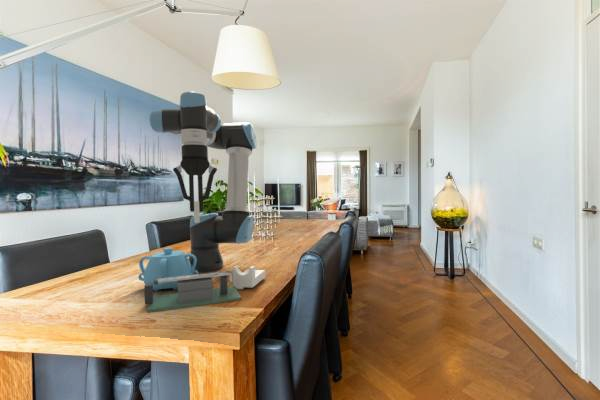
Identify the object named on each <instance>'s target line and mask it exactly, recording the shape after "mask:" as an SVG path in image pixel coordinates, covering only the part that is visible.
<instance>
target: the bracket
mask: <svg viewBox="0 0 600 400" xmlns="http://www.w3.org/2000/svg"><path fill="white" fill-rule="evenodd" d="M265 278H266V269H265V270H264V269H256V266H255V265H252V266H250V267H249V269H245V270H244V271H243V272H242V271H241V270H240V267H239V265H237V264H236V265H234V266H232V286H235V287H236V289H237V290H243V289H245V288H250V289H251V288H255V286H256V285H257V284H259V283H260V282H262V280H263V279H265Z"/></svg>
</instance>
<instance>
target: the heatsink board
mask: <svg viewBox="0 0 600 400" xmlns="http://www.w3.org/2000/svg"><path fill="white" fill-rule="evenodd" d="M218 277H219V287H217V288H214V280H213V277H207V278H198V279H189V280H180V281H178V289H177V292H176V293H174V292H173V293H168V294H161V295H154V291H153V290H154V289H153V283H144V305H148V306H147V313H154V312H160V311H169V310H177V309H182V308H183V309H184V308H191V307H197V306H199V307H200V306H206V305H213V304H219V303H226V302H233V301H241V300H242V296H241V294H240V292H239V291H238V289H236V287H235V286H233V285H232V286H228V275H225V276H218Z"/></svg>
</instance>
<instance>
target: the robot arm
mask: <svg viewBox="0 0 600 400" xmlns="http://www.w3.org/2000/svg"><path fill="white" fill-rule="evenodd" d="M179 102H180V103H179V108H172V109H171V108H170V109H163V108H161V109H156V110H155V109H154V110H153V111H151V113H150V114H149V123H150V124H149V125H150V128H151V129H152V130H153V131H154V132H155V133H162V134H164V133H170V134H173V135H177V136H181V137H180V139H181V144H182V146H181V161H180V164H179V165H178V166H176V167H173V169H172V171H173V173H175V175H176V176H177V180H178V184H179V187H180V190H181V195H182V197H183V199H184V200H186V201H189V211H190V212H192V213H193V216H192V217H191V218H190V222H189V233H190V234H189V236H190V238H189V239H190V240H189V241H190V252H189V254H193V255H195V256H196V258H197V263H196V266H195V269H194V270H197V271H198V273H200V272H211V271H216V270H220V269H222V268H223V267H224V259H223V257H222V253H221V251H220V245H219V244H237V245H239V244H246V243H247V244H248V243H249V242H250V240H251V239H252V238H253V237H252V236H253V233H254V227H255V223H254V221H255V219H254V217H253V216H252V215H251V212H250V211H249V210H248V209H247V206H248V185H249V184H248V182H249V179H248V177H249V157H250V156H251V155H252V154H253V150H255V149H256V148H257V145H258V143H257V137H256V131H255V128H254V126H253V124H252V123H250V122H232V123H231V122H229V123H222V120H221V117H220V115H219V114H218V113H217V112H216V111H215V110H213V109H212V108H211V107H208V106H207V103H208V102H207V97H206V95H205V94H204V93H202V92H197V91H184V92H182V93H181V94H180V99H179ZM208 148H211V149H216V150H225V152H226V154H227V155H228V170H227V171H228V173H227V191H226V193H227V194H226V207H225V208H224V210H223V211H222V214H221V215H219V213H218V212H212V213H207V214H206V213H205V214H200V213H201V212H203V211H204V201H205V200H208V199H209V198H210V193H211V189H212V186H213V185H212V184H213V180H214V176H215V174H216V172H217V171H218V169H217V168H216V167H214V166H212V165H211V163H210V161H209V154H208ZM182 169H183V170H182ZM183 171H184V172H185V173H186V175H188V183H189V184H188V187H189V189H188V190H189V191H188V192H189V195H188V193H187V190H186V186H185V182H184V179H183V175H182V172H183ZM206 171H208V173H209V174H208V179H207V183H206V187H205V190H204V188H203V187H204V185H203V175H204V174H205V173H206ZM194 176H197V193H198V194H197V195H198V200H195V190H194V189H195V188H194V186H195V185H194V184H195V181H194V178H195V177H194ZM203 190H204V191H203ZM188 259H189V261H190V264H191V268H192V266H193V262H194V259H193V258H192V257H189V256H188Z"/></svg>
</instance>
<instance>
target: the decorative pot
mask: <svg viewBox="0 0 600 400" xmlns="http://www.w3.org/2000/svg"><path fill="white" fill-rule="evenodd" d="M189 257H192V258H193V259H194V262H193V266H192V268H191V264H190V261H189ZM146 259H147V260H148V261H147V265H146V267H144V260H146ZM196 263H197V258H196V256H195V255H193V254H190V253H186V252H185V251H182V250H181V251H180V250H174V248H173V247H165V248H163V249H162V251H160V252H159V251H158V252H156V253H153V254H152V255H144V256H142V257H141V258H140V259H139V262H138V265H139V266H138V267H139V269H140V271H141V272H140V273H138V274H139V275H138V279H139V280H140V281H142V282H143V283H144V284H145V283H153V282H154V279H155V278H158V279H159V278H168V277H177V276H187V275H196V274H199V272H198V271H197V270H194V269H195V266H196ZM194 273H195V274H194ZM142 276H143V277H142ZM162 289H163V290H166V289H168V290H169V289H172V290H177V291H178V281H172V282H163V283H157V284H154V283H153V292H159V291H162Z"/></svg>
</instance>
